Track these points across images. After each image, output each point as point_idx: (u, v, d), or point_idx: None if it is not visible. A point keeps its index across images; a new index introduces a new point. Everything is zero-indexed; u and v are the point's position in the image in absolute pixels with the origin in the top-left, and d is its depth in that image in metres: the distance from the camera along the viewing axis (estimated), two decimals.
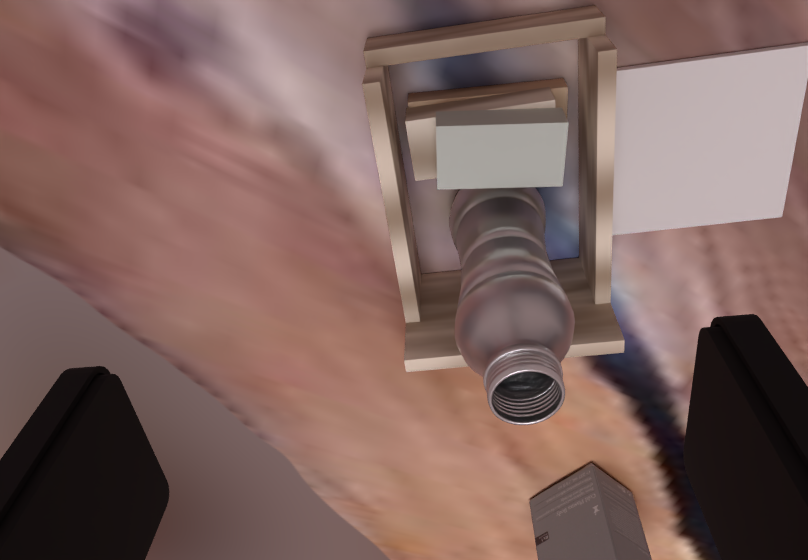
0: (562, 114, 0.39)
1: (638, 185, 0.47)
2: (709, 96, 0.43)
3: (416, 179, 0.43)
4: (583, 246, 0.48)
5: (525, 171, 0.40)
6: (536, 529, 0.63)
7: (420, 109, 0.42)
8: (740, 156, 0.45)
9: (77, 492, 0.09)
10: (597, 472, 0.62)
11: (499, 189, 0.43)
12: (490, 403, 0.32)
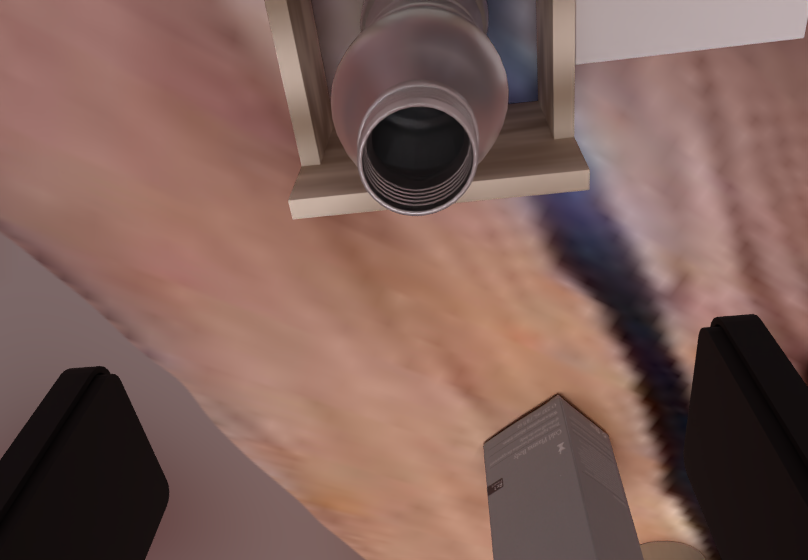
0: None
1: None
2: None
3: None
4: (541, 74, 0.36)
5: None
6: (489, 476, 0.51)
7: None
8: None
9: (77, 492, 0.09)
10: (565, 405, 0.50)
11: None
12: (361, 172, 0.20)
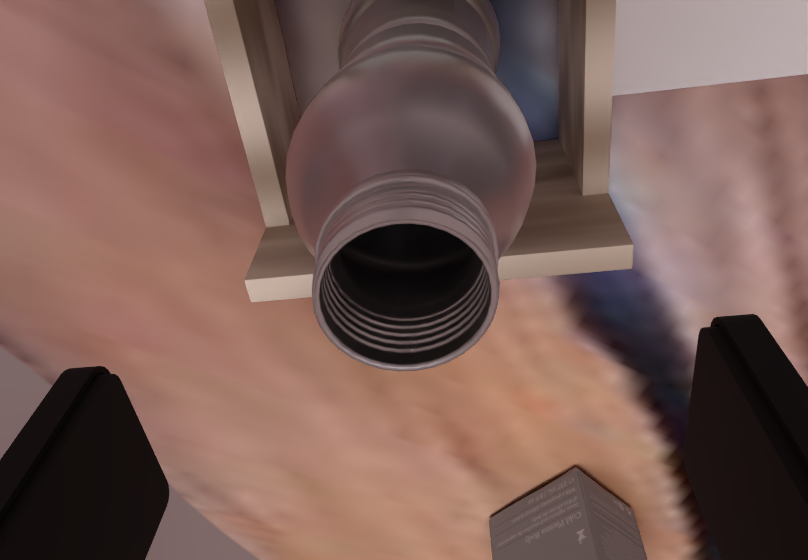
0: None
1: (657, 1, 0.28)
2: None
3: None
4: (565, 109, 0.29)
5: None
6: None
7: None
8: None
9: (77, 492, 0.09)
10: (584, 480, 0.43)
11: None
12: (318, 313, 0.13)
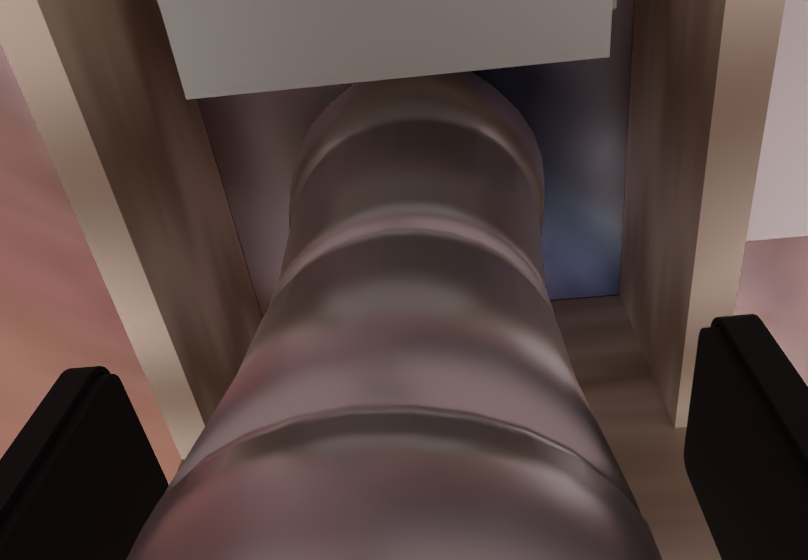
0: None
1: (784, 117, 0.18)
2: None
3: None
4: (636, 271, 0.20)
5: (472, 5, 0.11)
6: None
7: None
8: None
9: (77, 492, 0.09)
10: None
11: (409, 100, 0.15)
12: None
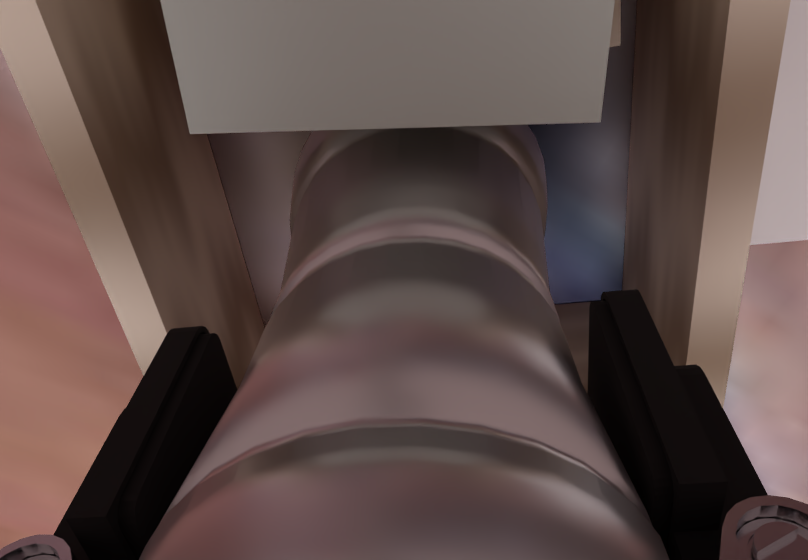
0: None
1: (787, 120, 0.18)
2: None
3: None
4: (638, 275, 0.19)
5: (473, 66, 0.12)
6: None
7: None
8: None
9: (193, 439, 0.10)
10: None
11: None
12: None
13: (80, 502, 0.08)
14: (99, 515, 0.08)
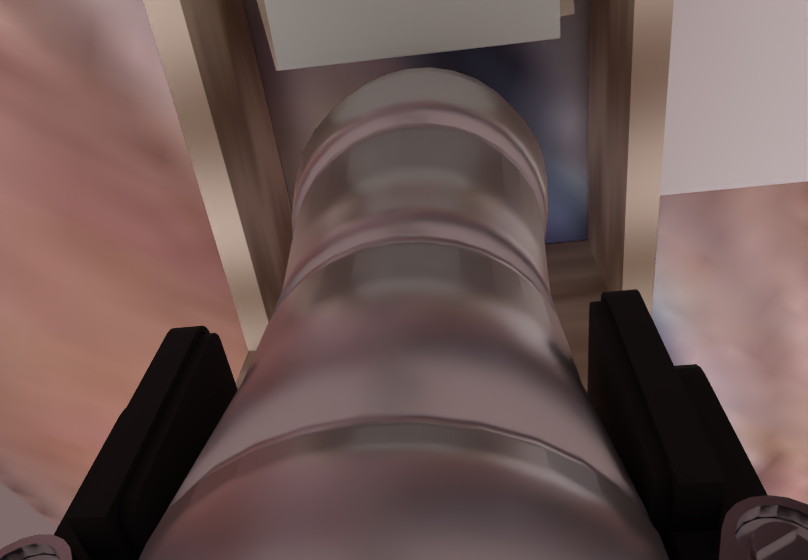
0: None
1: (704, 94, 0.24)
2: None
3: None
4: (596, 213, 0.25)
5: (468, 4, 0.17)
6: None
7: None
8: None
9: (193, 439, 0.10)
10: None
11: (413, 106, 0.15)
12: None
13: (81, 501, 0.08)
14: (99, 515, 0.08)
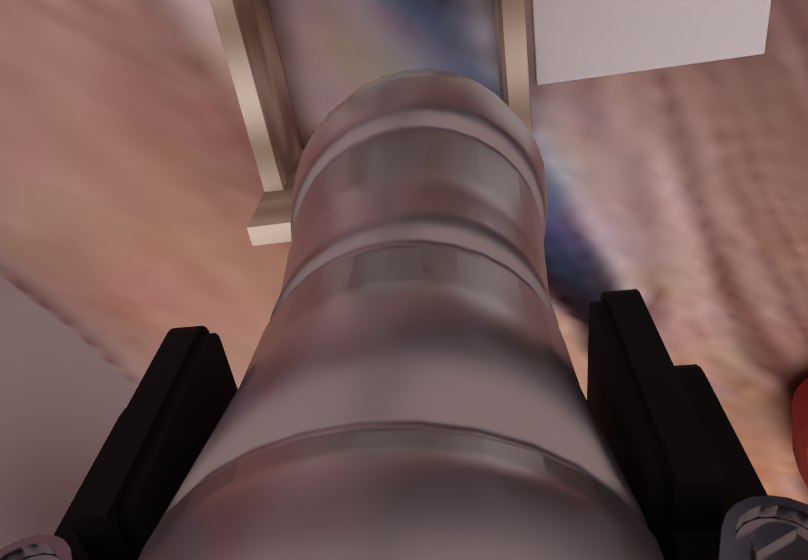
0: None
1: (571, 7, 0.35)
2: None
3: None
4: (502, 95, 0.37)
5: None
6: None
7: None
8: None
9: (193, 440, 0.10)
10: None
11: (412, 108, 0.15)
12: None
13: (81, 502, 0.08)
14: (99, 515, 0.08)
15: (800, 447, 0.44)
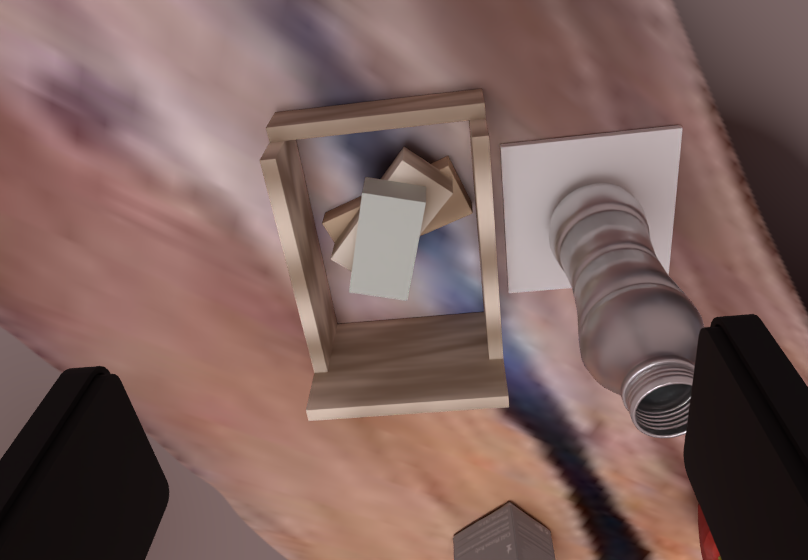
0: (363, 186, 0.43)
1: (532, 248, 0.50)
2: (591, 171, 0.47)
3: None
4: None
5: (403, 232, 0.43)
6: None
7: (340, 237, 0.48)
8: None
9: (77, 492, 0.09)
10: (514, 511, 0.65)
11: (607, 202, 0.43)
12: (633, 415, 0.32)
13: None
14: None
15: (700, 541, 0.60)
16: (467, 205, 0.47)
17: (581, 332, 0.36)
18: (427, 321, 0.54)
